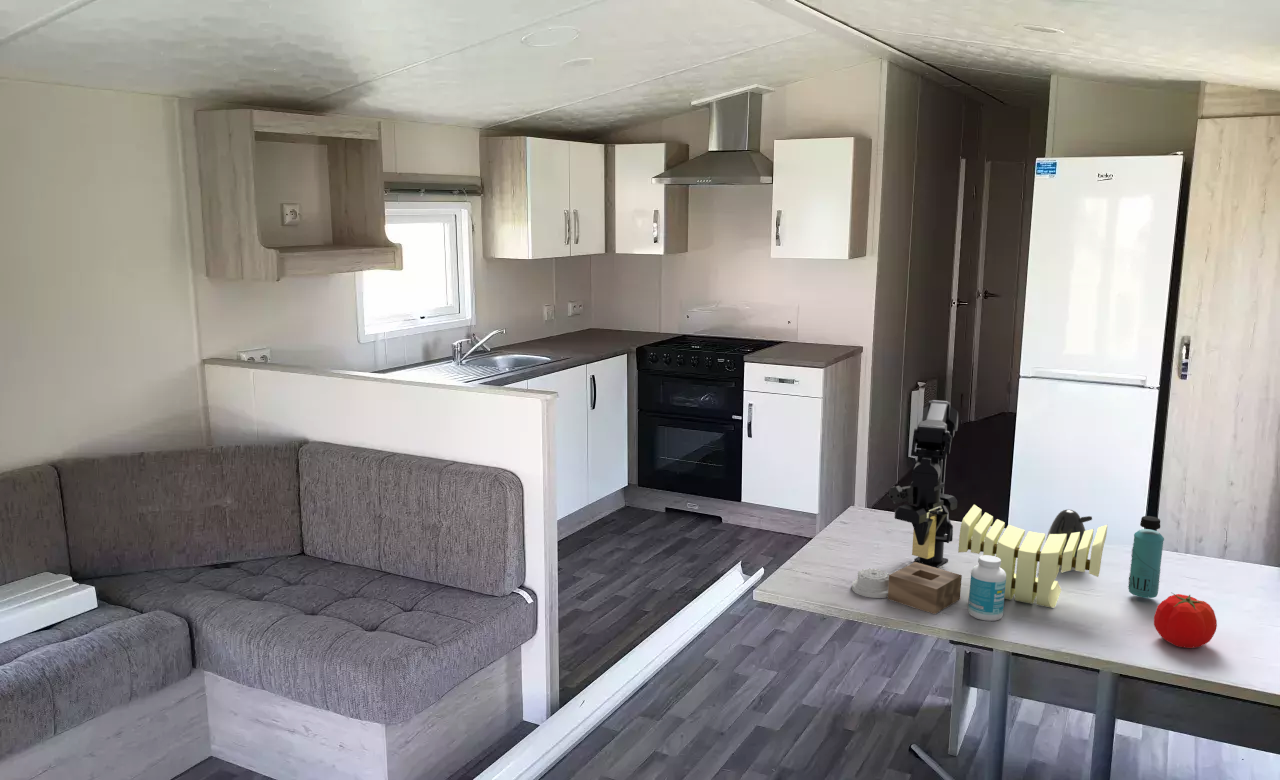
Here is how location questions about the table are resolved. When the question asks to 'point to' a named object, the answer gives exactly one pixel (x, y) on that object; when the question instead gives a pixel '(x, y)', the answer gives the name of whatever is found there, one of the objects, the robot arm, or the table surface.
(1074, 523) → the pump dispenser
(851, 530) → the table surface
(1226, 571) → the table surface
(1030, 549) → the slatted curved stool
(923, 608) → the slotted wooden block
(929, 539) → the brushed gold block
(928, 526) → the robot arm
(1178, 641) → the tomato
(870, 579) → the mechanical component
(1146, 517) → the beverage bottle
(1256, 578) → the table surface
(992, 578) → the pill bottle
